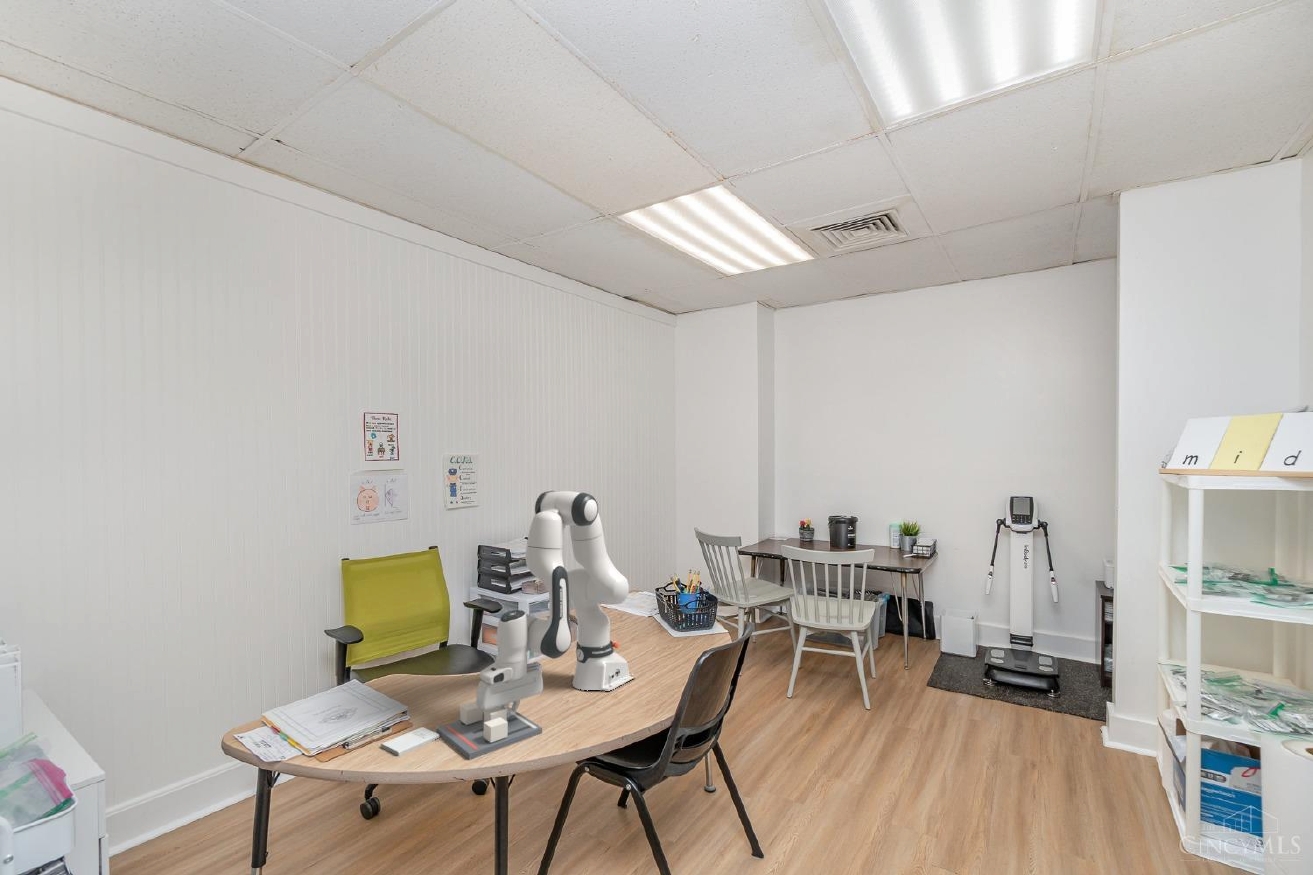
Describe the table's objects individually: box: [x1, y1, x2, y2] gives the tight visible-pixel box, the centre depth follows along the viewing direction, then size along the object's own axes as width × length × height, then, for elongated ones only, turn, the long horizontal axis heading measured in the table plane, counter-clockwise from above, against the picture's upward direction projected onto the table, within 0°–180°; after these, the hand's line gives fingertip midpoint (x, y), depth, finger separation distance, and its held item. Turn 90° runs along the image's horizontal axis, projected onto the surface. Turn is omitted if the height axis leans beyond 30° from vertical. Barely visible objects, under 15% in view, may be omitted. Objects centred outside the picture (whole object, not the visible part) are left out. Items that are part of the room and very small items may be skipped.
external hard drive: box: [380, 726, 440, 757], centre depth 163 cm, size 2×8×12 cm
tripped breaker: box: [483, 706, 507, 722], centre depth 170 cm, size 5×4×4 cm
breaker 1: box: [459, 701, 484, 725], centre depth 173 cm, size 5×4×4 cm
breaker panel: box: [436, 706, 543, 761], centre depth 169 cm, size 22×20×2 cm
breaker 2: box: [483, 717, 508, 743], centre depth 163 cm, size 5×4×4 cm
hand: (510, 716), depth 174 cm, fingers closed
